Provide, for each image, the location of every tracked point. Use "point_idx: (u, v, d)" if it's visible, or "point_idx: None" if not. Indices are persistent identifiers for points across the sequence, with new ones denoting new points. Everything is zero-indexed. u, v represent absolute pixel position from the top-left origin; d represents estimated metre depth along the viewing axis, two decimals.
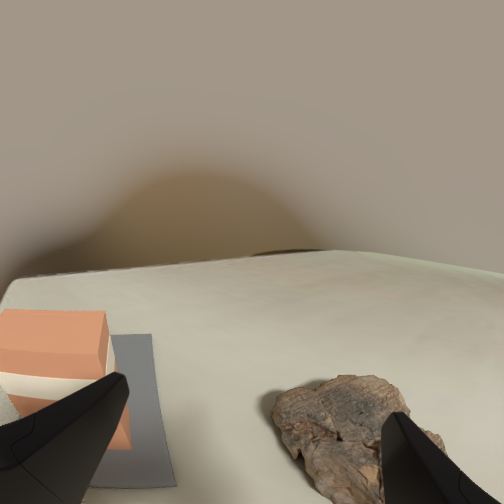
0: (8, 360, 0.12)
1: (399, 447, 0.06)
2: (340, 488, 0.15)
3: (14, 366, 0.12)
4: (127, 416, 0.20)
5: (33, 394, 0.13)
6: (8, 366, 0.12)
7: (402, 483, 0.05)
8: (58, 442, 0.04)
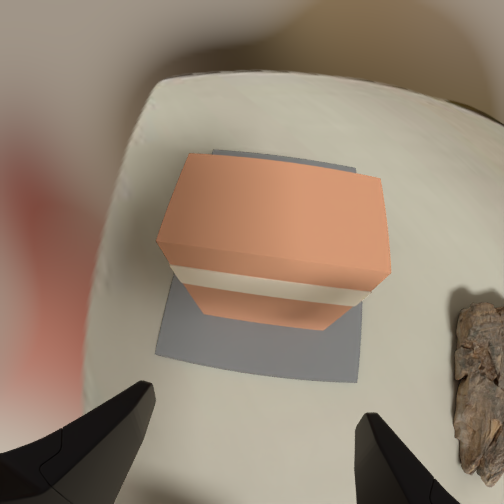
0: (210, 259, 0.12)
1: (370, 450, 0.06)
2: (469, 427, 0.15)
3: (219, 265, 0.12)
4: None
5: (234, 288, 0.14)
6: (206, 264, 0.12)
7: (372, 488, 0.05)
8: (88, 458, 0.04)
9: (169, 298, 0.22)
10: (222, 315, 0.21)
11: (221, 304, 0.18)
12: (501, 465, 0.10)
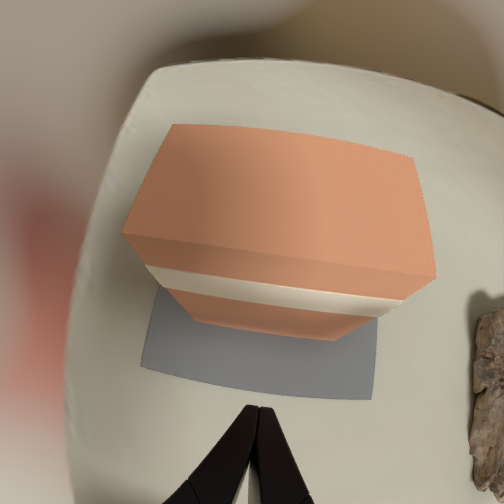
0: (194, 258, 0.08)
1: (254, 446, 0.06)
2: (486, 444, 0.12)
3: (207, 266, 0.09)
4: None
5: (228, 295, 0.11)
6: (189, 264, 0.09)
7: (251, 488, 0.05)
8: (224, 503, 0.04)
9: (157, 302, 0.19)
10: (217, 323, 0.18)
11: (214, 312, 0.15)
12: None
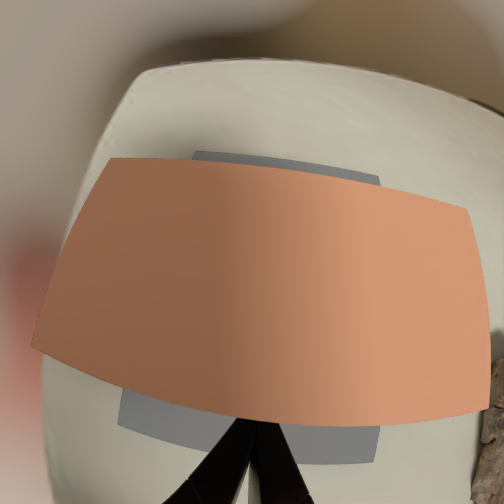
0: None
1: (254, 446, 0.06)
2: (488, 491, 0.08)
3: None
4: None
5: None
6: None
7: (251, 488, 0.05)
8: (225, 503, 0.04)
9: None
10: None
11: None
12: None
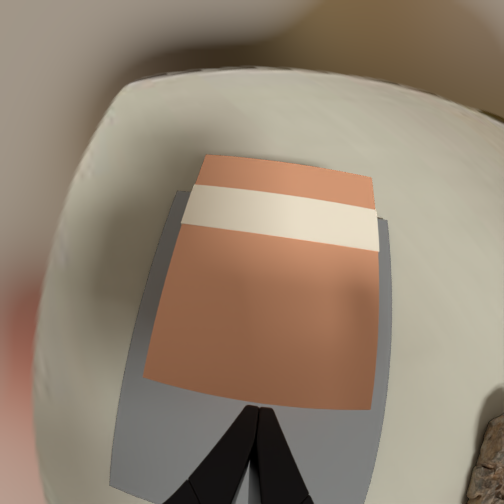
0: (240, 170, 0.14)
1: (254, 446, 0.06)
2: None
3: (244, 178, 0.14)
4: None
5: (243, 224, 0.13)
6: (232, 177, 0.14)
7: (251, 488, 0.05)
8: (224, 503, 0.04)
9: (117, 427, 0.13)
10: (181, 371, 0.10)
11: (203, 297, 0.12)
12: None
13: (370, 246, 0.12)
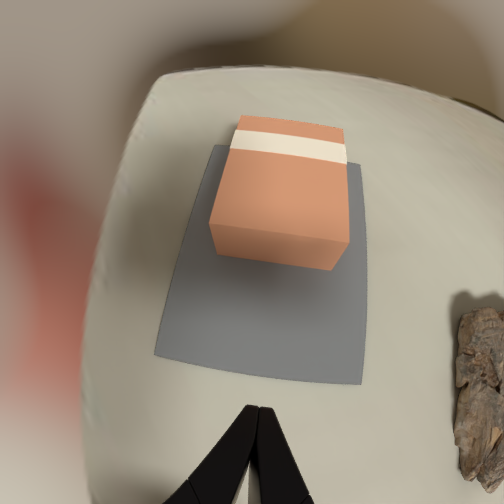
0: (262, 123, 0.23)
1: (254, 446, 0.06)
2: (470, 435, 0.14)
3: (265, 127, 0.23)
4: None
5: (267, 148, 0.22)
6: (258, 127, 0.23)
7: (251, 488, 0.05)
8: (224, 503, 0.04)
9: (169, 297, 0.21)
10: (234, 217, 0.19)
11: (246, 181, 0.20)
12: (501, 472, 0.10)
13: (341, 161, 0.21)
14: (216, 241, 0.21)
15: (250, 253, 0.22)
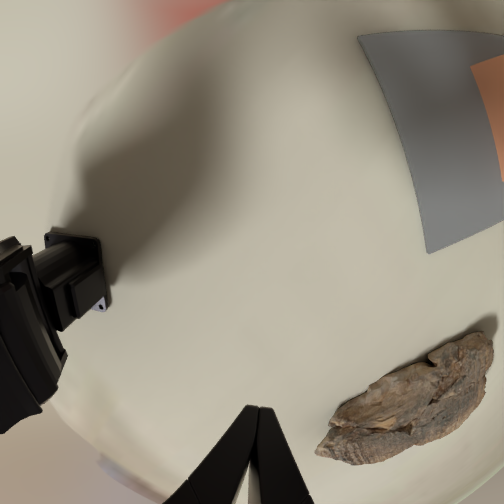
0: None
1: (254, 446, 0.06)
2: (383, 396, 0.20)
3: None
4: None
5: None
6: None
7: (251, 488, 0.05)
8: (225, 503, 0.04)
9: (414, 32, 0.12)
10: None
11: None
12: (342, 451, 0.20)
13: None
14: (487, 63, 0.10)
15: (491, 98, 0.12)
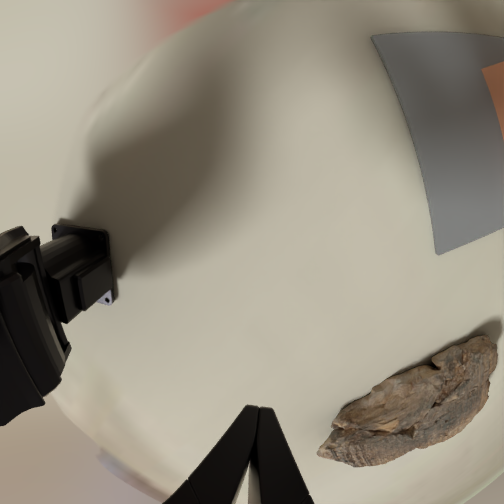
0: None
1: (254, 446, 0.06)
2: (386, 398, 0.20)
3: None
4: None
5: None
6: None
7: (251, 488, 0.05)
8: (224, 503, 0.04)
9: (426, 33, 0.12)
10: None
11: None
12: (344, 453, 0.20)
13: None
14: (498, 66, 0.09)
15: (502, 101, 0.11)
